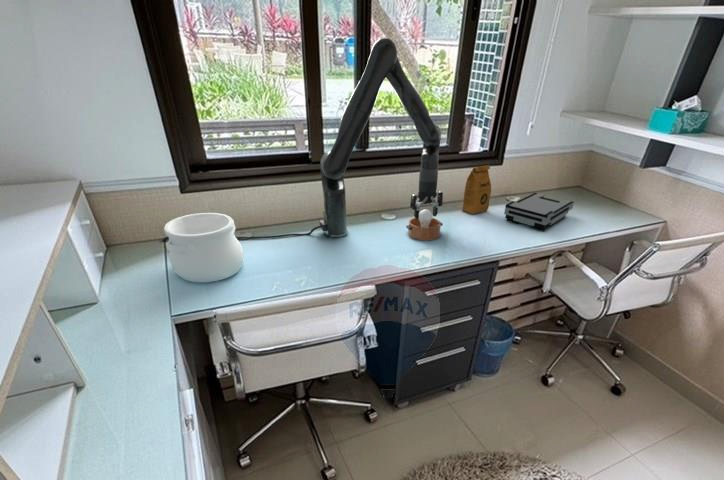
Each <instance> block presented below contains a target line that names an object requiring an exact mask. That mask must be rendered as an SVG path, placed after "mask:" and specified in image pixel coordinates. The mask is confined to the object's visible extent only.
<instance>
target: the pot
mask: <svg viewBox="0 0 724 480" xmlns="http://www.w3.org/2000/svg"><path fill="white" fill-rule="evenodd" d="M163 232H164V235H166V237H169V238H168V241H166V242H165V247H166V250H167V251H169V262H170V264H171V267H172V270H173V271H174V272H175V273H176V274H177V275H178V277H180V278H182V279H183V280H185V281H188V282H192V283H211V282H217V281H221V280H225V279H227V278H230V277H232V276H234V275H236V273H238V272H239V271H240V270H241V268H242V267H243V264H244V259H245V255H244V249H243V247H242V245H241V243H240V241H239V239H236V237H237V236H236V234H235V232H236V225H235V221H234V219H233V218H232V217H231V216H229V215H228V214H223V213H218V212H197V213H191V214H185V215H182V216H178V217H176V218H173V219H171V220H169V221H168V222H167V223H165V224H164V228H163Z"/></svg>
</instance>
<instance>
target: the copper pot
mask: <svg viewBox="0 0 724 480" xmlns="http://www.w3.org/2000/svg"><path fill="white" fill-rule="evenodd" d="M443 224H444V223H443V222H441V221H440V220H438V219H437V218H434V217H432V220H431V222H430V223H429V226H428V228H423V227H421V224H420V221H419V219H416V218H415V217H413V218H410V219H409V220H408V225H405V227H406V229H407V230H408V231H407V232H408V236H409V237H410V238H412V239H414V240H419V241H433V240H436V239H439V237H440V236H441V228H442V226H443Z"/></svg>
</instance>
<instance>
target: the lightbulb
mask: <svg viewBox="0 0 724 480" xmlns="http://www.w3.org/2000/svg"><path fill="white" fill-rule="evenodd" d="M432 218H433V212H431V210H429V209H422V210H421V211H419V221H420V224H421V227H423V228H428V226H429V223H430V222H431V220H432Z"/></svg>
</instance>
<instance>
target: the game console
mask: <svg viewBox="0 0 724 480" xmlns="http://www.w3.org/2000/svg"><path fill="white" fill-rule="evenodd" d="M574 204H575V201H572V200H568V199H562V200H557V199H552V198H548V197H545V194H542V193H538V192H534V193H531V194H529V195H527V196H525V197H523V198H521V199H518V200H517V201H511V202H508V203H506V204H505V208H504V212H503V213H504V214H503V215H505V218H504V219H506V221H507V222H509V223H513V224H515V225H516V224H520V223H521V224H525V225H528V226H531V229H535V230H538V231H542V232H545V231H546V230H548V229H551V228H552V227H553V226H554V225H556V224H557V223H559V222H561V221H563V220H564V219H565V218H566V216H567V214H568V213H569V212H570V211H571V210H572V209H573V208H574Z"/></svg>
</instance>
